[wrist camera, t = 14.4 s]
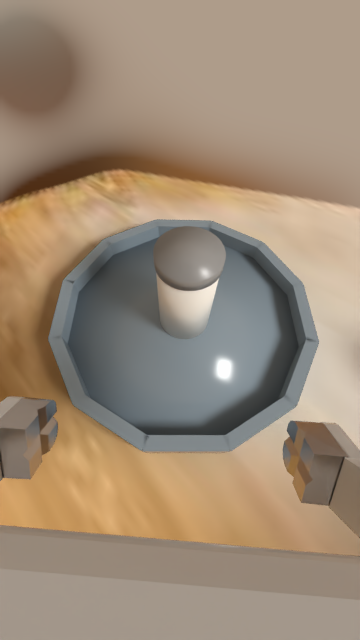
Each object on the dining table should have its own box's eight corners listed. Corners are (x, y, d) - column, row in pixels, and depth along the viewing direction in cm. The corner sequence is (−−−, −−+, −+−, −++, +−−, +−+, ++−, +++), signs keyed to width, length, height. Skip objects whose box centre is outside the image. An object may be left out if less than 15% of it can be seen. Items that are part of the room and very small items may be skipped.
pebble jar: (149, 325, 24) (138, 261, 16) (174, 288, 26) (176, 217, 18) (194, 349, 23) (205, 293, 15) (217, 309, 25) (237, 243, 17)
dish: (9, 362, 23) (-8, 351, 21) (149, 212, 32) (147, 194, 30) (244, 518, 18) (254, 526, 16) (328, 290, 27) (342, 275, 25)
